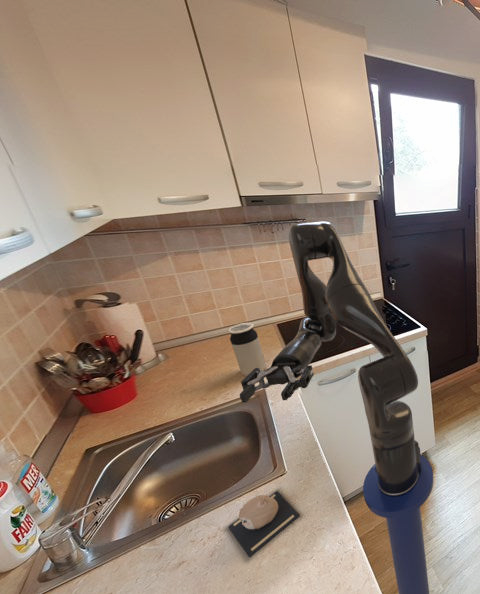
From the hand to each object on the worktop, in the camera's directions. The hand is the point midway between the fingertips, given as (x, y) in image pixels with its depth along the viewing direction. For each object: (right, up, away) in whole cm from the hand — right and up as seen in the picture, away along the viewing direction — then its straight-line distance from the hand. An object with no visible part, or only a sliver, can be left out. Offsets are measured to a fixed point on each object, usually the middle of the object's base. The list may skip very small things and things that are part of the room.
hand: (263, 398), depth 72 cm
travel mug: (-37, -5, +51) cm, 63 cm away
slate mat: (+1, -26, -1) cm, 26 cm away
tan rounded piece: (+1, -26, -1) cm, 26 cm away
